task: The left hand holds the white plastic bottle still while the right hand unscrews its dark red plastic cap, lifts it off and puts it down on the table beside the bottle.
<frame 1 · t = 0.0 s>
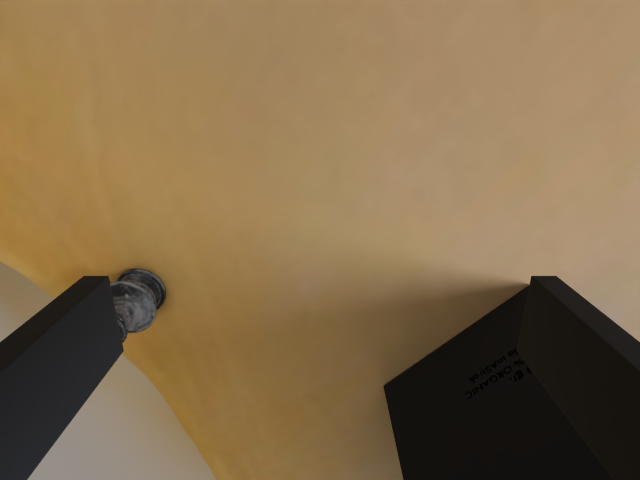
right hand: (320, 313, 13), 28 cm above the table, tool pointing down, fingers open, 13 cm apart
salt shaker: (141, 290, 44), on the table
cardboard box: (539, 432, 51), on the table
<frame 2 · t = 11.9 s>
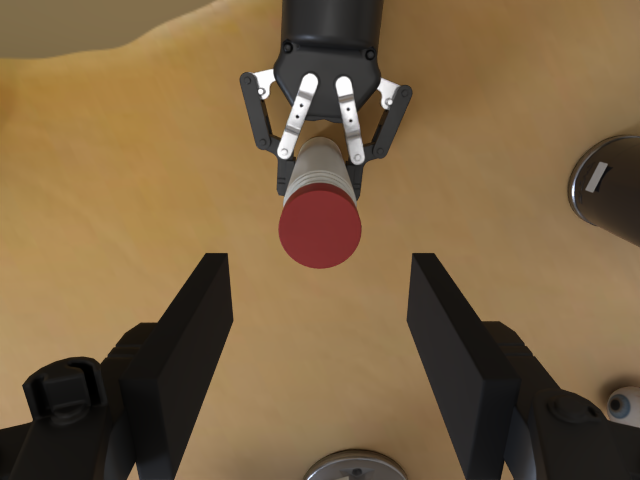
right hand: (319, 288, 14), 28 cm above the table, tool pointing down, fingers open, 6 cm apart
left hand: (317, 201, 36), fingers closed on bottle, 4 cm apart
cap: (319, 229, 21), point 22 cm above the table, screwed on, not yet turned
eyeball: (618, 393, 51), on the table
bottle: (319, 159, 41), on the table, touching left hand
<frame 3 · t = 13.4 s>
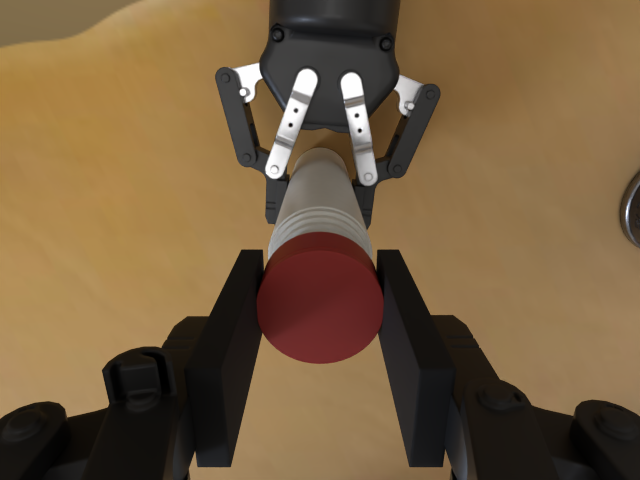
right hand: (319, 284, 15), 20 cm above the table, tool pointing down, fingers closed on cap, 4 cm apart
left hand: (316, 230, 28), fingers closed on bottle, 4 cm apart
cap: (320, 305, 13), point 22 cm above the table, screwed on, not yet turned, touching right hand
bottle: (320, 174, 34), on the table, touching left hand
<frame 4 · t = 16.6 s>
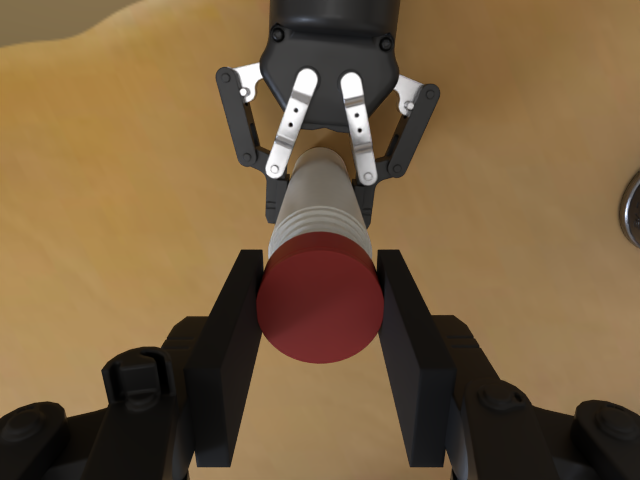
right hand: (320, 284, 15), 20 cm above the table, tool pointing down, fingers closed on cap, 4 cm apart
left hand: (316, 230, 29), fingers closed on bottle, 4 cm apart
cap: (320, 305, 13), point 22 cm above the table, turned 88° so far, risen 0.1 cm, still on its thread, touching right hand
bottle: (320, 174, 34), on the table, touching left hand
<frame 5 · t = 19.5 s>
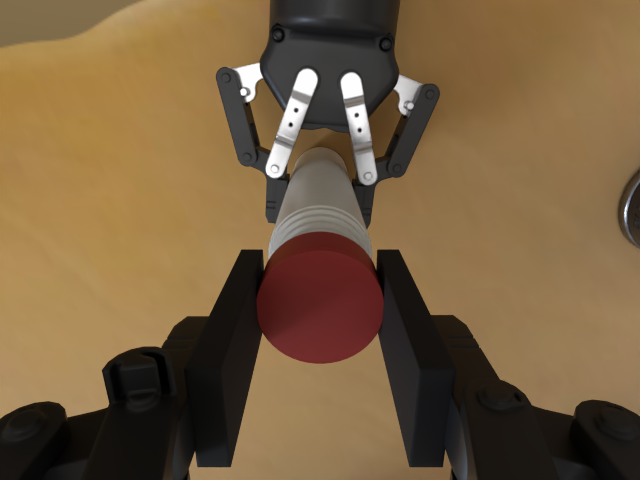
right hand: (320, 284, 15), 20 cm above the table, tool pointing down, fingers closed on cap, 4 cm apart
left hand: (316, 229, 29), fingers closed on bottle, 4 cm apart
cap: (320, 305, 13), point 22 cm above the table, turned 177° so far, risen 0.1 cm, still on its thread, touching right hand
bottle: (320, 173, 34), on the table, touching left hand
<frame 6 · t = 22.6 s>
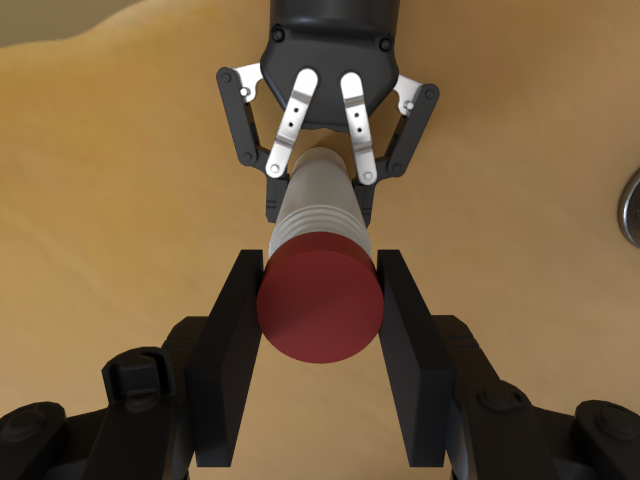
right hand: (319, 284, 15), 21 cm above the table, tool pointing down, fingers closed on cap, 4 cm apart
left hand: (316, 229, 29), fingers closed on bottle, 4 cm apart
cap: (320, 305, 13), point 22 cm above the table, turned 265° so far, risen 0.2 cm, still on its thread, touching right hand
bottle: (320, 173, 34), on the table, touching left hand
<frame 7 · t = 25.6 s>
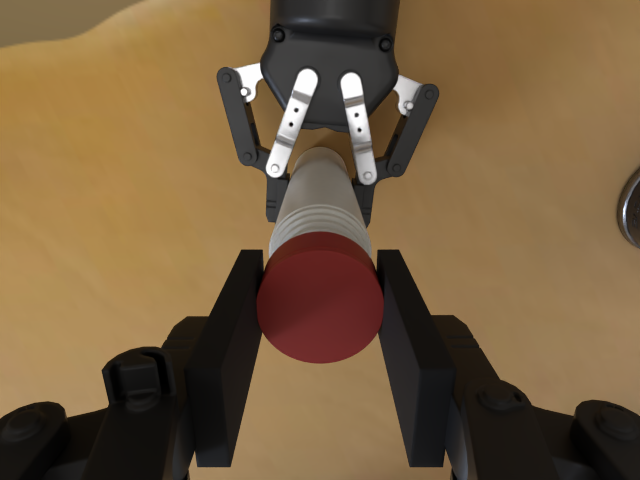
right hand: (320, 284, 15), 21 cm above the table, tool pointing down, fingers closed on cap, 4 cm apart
left hand: (316, 229, 29), fingers closed on bottle, 4 cm apart
cap: (320, 305, 13), point 22 cm above the table, turned 353° so far, risen 0.3 cm, still on its thread, touching right hand
bottle: (320, 173, 34), on the table, touching left hand
when the right hand's fingers open (1 cm above the table, at t = 31.9 s): cap stays where it is, point 2 cm above the table.
when the left hand's fingers open (7 cm above the table, at t = 33.1 s): bottle stays where it is, on the table.
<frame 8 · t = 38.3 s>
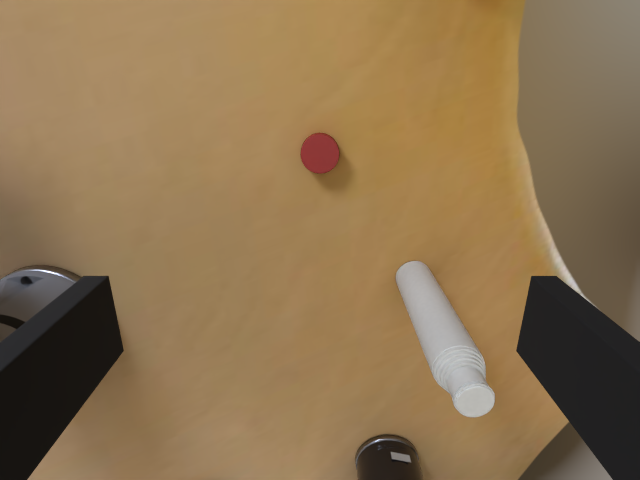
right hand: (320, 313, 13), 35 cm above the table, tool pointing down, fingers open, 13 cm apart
cap: (319, 153, 44), point 2 cm above the table, off its thread
bottle: (413, 276, 51), on the table
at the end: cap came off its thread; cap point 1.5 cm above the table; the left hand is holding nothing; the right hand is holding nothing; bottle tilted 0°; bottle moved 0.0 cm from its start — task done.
